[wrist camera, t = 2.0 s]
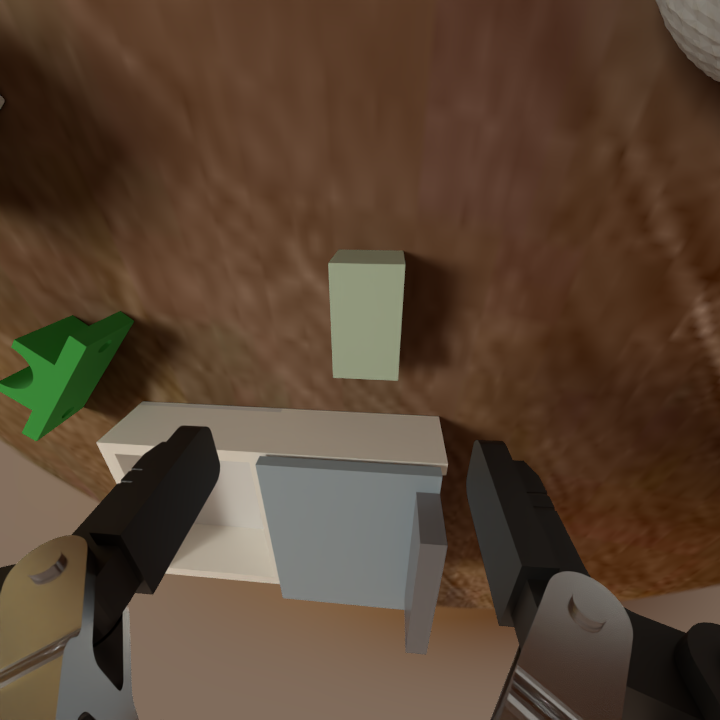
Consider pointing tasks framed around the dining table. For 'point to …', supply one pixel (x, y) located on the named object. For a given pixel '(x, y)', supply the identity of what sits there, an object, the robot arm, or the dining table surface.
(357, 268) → the pale green block
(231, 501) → the housing
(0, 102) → the small box
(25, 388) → the pipe clamp
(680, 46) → the cereal bowl
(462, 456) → the dining table surface
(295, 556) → the lid
